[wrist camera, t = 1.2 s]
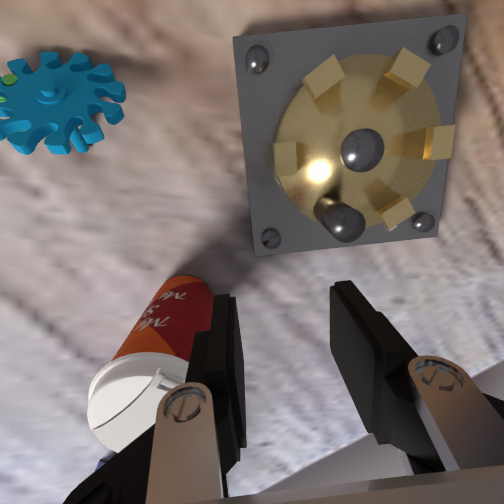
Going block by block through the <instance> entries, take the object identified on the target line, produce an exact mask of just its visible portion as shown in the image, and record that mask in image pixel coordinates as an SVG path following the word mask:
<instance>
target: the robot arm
mask: <svg viewBox="0 0 504 504" xmlns="http://www.w3.org/2000/svg"><path fill="white" fill-rule="evenodd" d="M330 348H331V352H332V355H333V357H334V359H335V362H336V364H337V366H338V368H339V371H340V373H341V375H342V377H343V379H344V382H345V384H346V386H347V388H348V391H349V393H350V395H351V397H352V400H353V402H354V404H355V406H356V408H357V411H358V413H359V415H360V417H361V420H362V422H363V424H364V426H365V429H366V430H367V432H368V433H373V434H374V436H375V438H376V440H377V442H378V444H379V445H381V444H392V445H393V446H395V447H397V448H399V453H400V457H401V460H402V463H403V465H404V468H405V471H406V474H407V476H401V477H393V478H385V479H376V480H368V481H359V482H351V483H342V484H334V485H325V486H317V487H309V488H301V489H292V490H284V491H276V492H269V493H260V494H252V495H244V496H236V497H230V494H229V485H228V477H227V473H228V472H229V470H230V469H231V468H232V467H233V466H234V465H235V464H236V462H237V461H240V448H246V447H247V442H246V412H245V382H244V358H243V350H242V342H241V335H240V328H239V320H238V313H237V305H236V298H235V297H230V294H221V295H215V297H214V304H213V311H212V319H211V326H210V330H207V331H199V332H196V333H195V336H194V341H193V346H192V350H191V355H190V360H189V364H188V369H187V374H186V379H185V383H184V384H181V385H178V386H176V387H174V388H173V389H171V390H169V391H168V392H167V393H166V394H165V395H164V396H163V398H162V399H161V401H160V402H159V405H158V408H157V413H156V421H155V424H153V425H152V426H151V427H150V428H148V429H147V430H146V431H145V432H143V433H142V434H141V435H140V436H138V437H137V438H136V439H135V440H133V441H132V442H131V443H130V444H129V445H127V446H126V447H125V448H124V449H122V450H121V451H120V452H119V453H117V454H116V455H115V456H114V457H112V458H111V459H110V460H109V461H107V462H106V463H105V464H104V465H103V466H101V467H100V468H99V469H98V470H96V471H95V472H94V473H93V474H91V475H90V476H89V477H88V478H86V479H85V480H84V481H83V482H81V483H80V484H79V485H78V486H77V487H76V488H75V489H74V490H73V491H72V492H71V493H70V494H69V496H68V497H67V498H66V500H65V501H64V503H63V504H504V401H503V400H500V399H497V398H495V397H492V396H489V395H487V394H485V393H482V392H481V391H480V389H479V388H478V387H477V386H476V384H475V383H474V382H473V380H472V379H471V378H470V376H469V375H468V374H467V373H466V372H465V371H464V370H463V369H462V368H461V367H460V366H458V365H456V364H455V363H453V362H451V361H449V360H447V359H444V358H440V357H436V356H428V355H426V356H418V355H417V354H416V352H415V351H414V350H413V349H412V348H411V347H410V345H409V344H408V343H407V342H406V341H405V339H404V338H403V337H402V336H401V335H400V333H399V332H398V331H397V330H396V329H395V328H394V326H393V325H392V324H391V323H390V322H389V320H388V319H387V318H386V317H385V316H384V315H383V314H382V313H381V312H379V311H376V310H375V309H374V308H373V307H372V306H371V304H370V303H369V302H368V301H367V299H366V298H365V297H364V296H363V295H362V293H361V292H360V291H359V290H358V288H357V287H356V286H355V285H354V284H353V282H352V281H351V280H347V281H338V282H335V284H334V286H330Z"/></svg>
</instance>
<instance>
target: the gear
mask: <svg viewBox="0 0 504 504" xmlns="http://www.w3.org/2000/svg"><path fill="white" fill-rule="evenodd" d="M40 58H41V65H40V67H39V68H38V69H37V70H36V72H34V73H33V72H32V70H31V68H30V67H29V65H28V63H27V62H26V60H25V59H16V60H12V61H9V62H7V65H8V67H9V69H10V70H11V72H12V73H13V74H8V75H5V76H4V77H3V78H1V76H0V117H11V118H9V119H5V120H2V119H0V141H1V140H3V139H5V138H6V137H7V140H8V141H9V142H10V143H11V144H12V146H13V147H14V148H15V149H16V150H17V151H18V152H20V153H22V154H25V155H29V154H31V153H32V152H33V151H34V150H35V148H36V146H37V144H38V143H39V142H40V141H41V140H42V139H43V138H44V137H46V136H47V137H46V139H45V141H44V143H45V145H46V146H47V148H48V149H49V150H50V152H51V153H53V154H69V153H70V151H71V146H70V142H69V138H70V140H71V141H72V143H73V145H74V146H75V148H76V150H77V151H78V152H80V153H84V152H87V151H88V150H89V146H88V144H92V143H96V142H99V141H101V140H103V139H104V134H103V132H102V130H101V128H100V126H99V125H98V124H97V123H95V122H93V121H92V119H91V117H92V115H93V114H94V113H97V112H102V113H104V115H105V117H106V120H107V122H108V123H110V124H112V125H115V124H117V123H119V122H120V121H121V120H122V119H123V118H124V113H123V110H122V108H121V106H120V105H119V104H117V103H122V102H124V101H125V99H126V90H125V87H124V84H123V83H122V82H119V81H116V82H115V78H114V75H113V72H112V69H111V67H110V66H109V65H108V64H107V63H103V64H100V65H98V66H97V67H95V68H93V66H92V63H91V61H90V58H89V57H88V56H86V55H84V54H82V53H79V52H78V53H75V54H73V55H72V57H71V59H70V61H69V62H68V63H66V64H65V65H63V63H62V61H61V59H60V57H59V55H58V53H56V52H42V53H41V54H40ZM101 97H109V98H110V99H112V100H113V101H114V102H117V103H110V102H106V101H103V100H101V99H99V98H101ZM81 125H82V126H81ZM78 126H81V128H80V130H79V128H78ZM19 131H20V132H19ZM51 133H52V134H51ZM48 135H49V136H48ZM87 143H88V144H87Z"/></svg>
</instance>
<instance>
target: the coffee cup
mask: <svg viewBox="0 0 504 504" xmlns="http://www.w3.org/2000/svg"><path fill="white" fill-rule="evenodd" d="M212 311H213V296H212V292H211V290H210V288H209V287H208V286H207V284H206V283H205V282H203V281H202V280H200V279H199V278H196V277H194V276H189V275H180V276H176V277H173V278H171V279H169V280H168V281H166V282H165V283H164V284H163V285H162V287H161V288H160V289H159V291H158V292H157V293H156V295H155V296H154V298H153V299H152V301H151V302H150V304H149V305H148V307H147V308H146V310H145V311H144V313H143V314H142V316H141V317H140V319H139V320H138V322H137V323H136V325H135V326H134V328H133V329H132V331H131V332H130V334H129V335H128V337H127V338H126V340H125V341H124V343H123V344H122V346H121V347H120V349H119V350H118V352H117V353H116V355H115V356H114V358H113V359H112V361H111V362H110V363H108V364H107V365H105V366H104V367H103V368H102V369H101V370H100V371H99V372H98V373H97V374H96V376H95V377H94V379H93V381H92V383H91V385H90V389H89V394H88V395H89V405H88V410H87V415H88V423H89V426H90V429H91V430H92V432H93V433H94V434H95V435H96V437H97V438H98V439H99V440H100V441H101V442H102V443H103V444H104V445H105V446H107V447H108V448H109V449H111V450H113V451H115V452H117V453H119V452H120V451H121V450H122V449H124V448H125V447H126V446H127V445H129V444H130V443H131V442H132V441H133V440H135V439H136V438H137V437H138V436H140V435H141V434H142V433H143V432H145V431H146V430H147V429H148V428H150V427H151V426H152V425H153V424H155V421H156V413H157V408H158V405H159V402H160V401H161V399H162V398H163V396H164V395H165V394H166V393H167V392H168V391H169V390H171V389H173V388H174V387H176V386H178V385H181V384H184V383H185V379H186V374H187V369H188V364H189V360H190V355H191V350H192V346H193V341H194V336H195V333H196V332H199V331H207V330H210V326H211V319H212Z"/></svg>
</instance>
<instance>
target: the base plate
mask: <svg viewBox="0 0 504 504" xmlns="http://www.w3.org/2000/svg"><path fill="white" fill-rule="evenodd" d="M466 21H467V13H462V14H452V15H442V16H433V17H423V18H413V19H403V20H393V21H383V22H373V23H363V24H353V25H344V26H334V27H324V28H314V29H304V30H294V31H284V32H274V33H264V34H255V35H245V36H235V37H233V50H234V60H235V70H236V79H237V89H238V99H239V109H240V118H241V128H242V138H243V148H244V158H245V167H246V177H247V187H248V197H249V206H250V216H251V226H252V236H253V246H254V253H255V257H256V256H265V255H275V254H284V253H293V252H302V251H311V250H320V249H329V248H338V247H347V246H357V245H366V244H375V243H384V242H393V241H402V240H411V239H420V238H429V237H437V235H438V228H439V220H440V213H441V206H442V198H443V191H444V183H445V176H446V169H447V161H448V159H439V160H437V161H436V164H435V166H434V169H433V171H432V173H431V176H430V177H429V179H428V181H427V183H426V184H425V186H424V187H423V189H422V190H421V191H420V193H419V194H418V195H417V196H416V198H415V199H414V200H413V201H412V202H411V205H412V207H413V209H414V211H415V214H413V215H412V216H410V217H409V218H407V219H405V220H404V221H402V222H401V223H399V224H398V225H396V226H394V227H393V228H391V229H390V230H389V229H388V228H386V227H384V225H383V224H382V223H380V224H377V225H374V226H371V227H368V228H365V230H364V232H363V234H362V235H361V236H360V237H359V238H358V239H357V240H355V241H353V242H350V243H343V242H339V241H338V240H336V239H335V238H334V237H333V236H332V235H331V234H330V233H329V232H328V231H327V230H326V229H325V228H324V227H323V226H322V225H321V224H319V223H317V222H316V221H314V220H312V219H310V218H309V217H308V216H306V215H305V214H304V213H303V212H302V211H301V210H299V209H298V208H297V207H296V205H295V204H294V203H293V202H292V201H291V200H290V198H289V197H288V196H287V194H286V193H285V191H284V189H283V187H282V185H281V183H280V181H279V178H278V177H276V176H275V168H274V153H273V143H275V137H276V133H277V129H278V125H279V122H280V120H281V117H282V115H283V113H284V111H285V109H286V107H287V105H288V103H289V102H290V100H291V99H292V98H293V96H294V95H295V94H296V93H297V91H298V90H299V89H300V88H301V87H302V86H303V85H304V84H303V82H302V81H301V80H302V79H303V78H304V77H305V76H307V75H308V74H309V73H310V72H312V71H313V70H314V69H315V68H317V67H318V66H319V65H321V64H322V63H323V62H324V61H326V60H327V59H328V58H329V57H331V56H332V55H333V54H334V55H335V57H336V59H337V61H339V60H342V59H345V58H348V57H351V56H356V55H362V54H378V55H385V56H389V57H393V55H394V53H395V51H397V50H398V49H400V48H402V47H404V48H405V49H407V50H409V51H410V52H412V53H414V54H415V55H417V56H418V57H420V58H422V59H423V60H425V61H426V62H428V63H430V64H431V65H430V67H429V69H428V70H427V72H426V74H425V76H424V80H425V81H426V82H427V84H428V85H429V87H430V88H431V90H432V92H433V94H434V96H435V98H436V101H437V104H438V107H439V112H440V117H441V126H444V125H452V124H453V117H454V110H455V102H456V95H457V87H458V80H459V73H460V65H461V58H462V50H463V43H464V36H465V28H466Z"/></svg>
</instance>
